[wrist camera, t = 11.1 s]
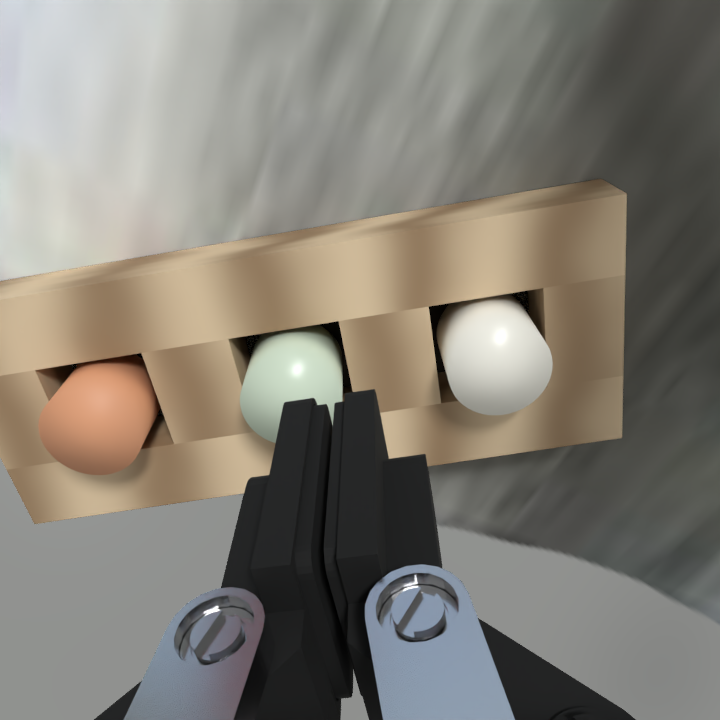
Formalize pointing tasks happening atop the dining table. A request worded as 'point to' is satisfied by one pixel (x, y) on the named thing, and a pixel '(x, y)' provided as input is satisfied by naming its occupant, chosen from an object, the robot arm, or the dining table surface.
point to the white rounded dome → (493, 354)
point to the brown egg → (100, 415)
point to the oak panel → (312, 307)
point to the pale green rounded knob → (290, 375)
